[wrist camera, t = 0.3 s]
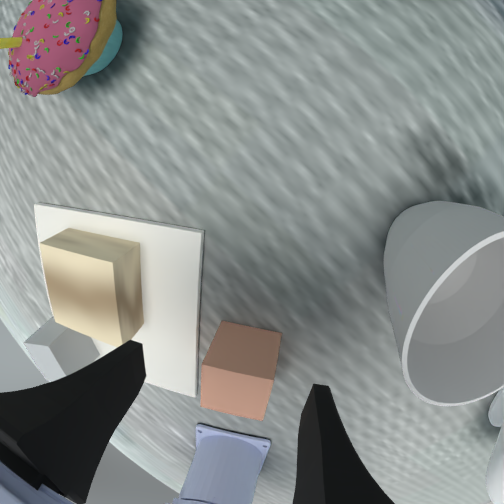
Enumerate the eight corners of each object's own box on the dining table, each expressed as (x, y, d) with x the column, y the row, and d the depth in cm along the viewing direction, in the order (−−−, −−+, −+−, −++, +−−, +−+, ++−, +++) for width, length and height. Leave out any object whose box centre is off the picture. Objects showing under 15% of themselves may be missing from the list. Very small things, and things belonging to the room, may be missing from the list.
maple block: (144, 323, 23) (123, 349, 20) (78, 301, 24) (55, 322, 21) (140, 242, 20) (112, 262, 17) (68, 227, 21) (39, 242, 18)
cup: (407, 317, 19) (448, 427, 10) (336, 239, 18) (358, 342, 9) (488, 243, 16) (573, 319, 7) (428, 152, 15) (531, 178, 6)
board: (197, 393, 26) (195, 397, 25) (64, 344, 28) (61, 347, 27) (204, 230, 20) (201, 233, 19) (38, 202, 21) (34, 204, 21)
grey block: (100, 354, 26) (73, 386, 21) (72, 351, 27) (46, 380, 22) (80, 315, 24) (48, 346, 20) (53, 316, 25) (23, 342, 21)
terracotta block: (271, 374, 23) (262, 421, 19) (218, 362, 24) (200, 406, 19) (282, 332, 22) (274, 380, 17) (222, 319, 22) (201, 364, 18)
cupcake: (83, 119, 18) (-58, 139, 7) (46, 53, 16) (-71, 49, 5) (168, 36, 15) (30, -26, 4) (116, -23, 13) (5, -74, 2)
